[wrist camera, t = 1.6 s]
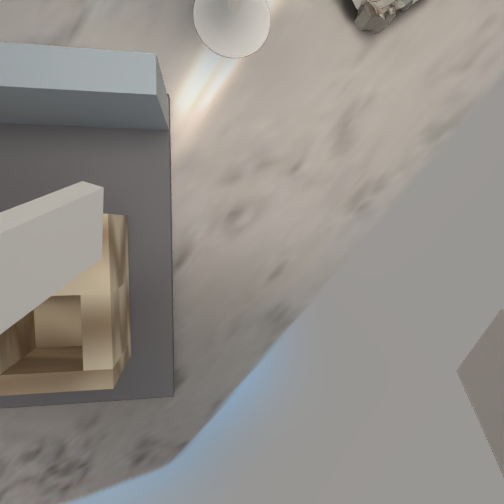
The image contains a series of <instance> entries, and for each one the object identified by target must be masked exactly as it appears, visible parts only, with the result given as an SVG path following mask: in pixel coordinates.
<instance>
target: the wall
mask: <svg viewBox="0 0 504 504" xmlns="http://www.w3.org/2000/svg"><path fill="white" fill-rule="evenodd" d="M0 123H10V124H34V125H58V126H82V127H106V128H130V129H154V130H169V100H168V96H167V93H166V89H165V85H164V82H163V78H162V74H161V71H160V67H159V63H158V59H157V56H156V53H147V52H134V51H120V50H106V49H93V48H79V47H65V46H51V45H38V44H24V43H10V42H0Z"/></svg>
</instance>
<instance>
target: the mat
mask: <svg viewBox="0 0 504 504" xmlns="http://www.w3.org/2000/svg"><path fill="white" fill-rule="evenodd" d="M167 96H168V100H169V130H154V129H130V128H106V127H82V126H58V125H34V124H10V123H0V212H3V211H6V210H8V209H11V208H13V207H16V206H19V205H21V204H24V203H26V202H29V201H32V200H34V199H37V198H40V197H42V196H45V195H47V194H50V193H53V192H55V191H58V190H60V189H63V188H66V187H68V186H71V185H73V184H76V183H79V182H81V181H84V182H88V183H91V184H94V185H98V186H101V187H104V197H103V214H116V215H127V223H128V260H129V297H130V335H131V357H130V358H129V360H128V362H127V364H126V366H125V368H124V370H123V372H122V373H121V375H120V377H119V379H118V381H117V383H116V385H115V387H114V388H113V389H101V390H85V391H69V392H53V393H38V394H22V395H6V396H0V408H14V407H29V406H43V405H58V404H73V403H88V402H102V401H117V400H132V399H147V398H161V397H173V396H174V342H173V279H172V217H171V154H170V98H169V94H167Z"/></svg>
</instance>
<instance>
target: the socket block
mask: <svg viewBox="0 0 504 504" xmlns="http://www.w3.org/2000/svg"><path fill="white" fill-rule="evenodd" d="M130 357H131V335H130V297H129V260H128V223H127V215H116V214H103V234H102V258H101V259H100V260H98V261H97V262H96V263H94V264H93V265H92V266H90V267H89V268H88V269H86V270H85V271H84V272H82V273H81V274H80V275H78V276H77V277H76V278H74V279H73V280H72V281H70V282H69V283H68V284H66V285H65V286H64V287H62V288H61V289H60V290H58V291H57V292H56V293H55V294H53V295H52V296H51V297H49V298H48V299H47V300H45V301H44V302H43V303H41V304H40V305H39V306H37V307H36V308H35V309H33V310H32V311H31V312H29V313H28V314H27V315H25V316H24V317H23V318H21V319H20V320H19V321H17V322H16V323H15V324H13V325H12V326H11V327H9V328H8V329H7V330H5V331H4V332H3V333H1V334H0V396H6V395H22V394H38V393H53V392H69V391H85V390H101V389H113V388H114V387H115V385H116V383H117V381H118V379H119V377H120V375H121V373H122V372H123V370H124V368H125V366H126V364H127V362H128V360H129V358H130Z"/></svg>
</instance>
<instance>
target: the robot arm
mask: <svg viewBox="0 0 504 504" xmlns="http://www.w3.org/2000/svg"><path fill="white" fill-rule="evenodd" d="M103 197H104V187H101V186H98V185H94V184H91V183H88V182H84V181H81V182H79V183H76V184H73V185H71V186H68V187H66V188H63V189H60V190H58V191H55V192H53V193H50V194H47V195H45V196H42V197H40V198H37V199H34V200H32V201H29V202H26V203H24V204H21V205H19V206H16V207H13V208H11V209H8V210H6V211H3V212H0V334H1V333H3V332H4V331H5V330H7V329H8V328H9V327H11V326H12V325H13V324H15V323H16V322H17V321H19V320H20V319H21V318H23V317H24V316H25V315H27V314H28V313H29V312H31V311H32V310H33V309H35V308H36V307H37V306H39V305H40V304H41V303H43V302H44V301H45V300H47V299H48V298H49V297H51V296H52V295H53V294H55V293H56V292H57V291H58V290H60V289H61V288H62V287H64V286H65V285H66V284H68V283H69V282H70V281H72V280H73V279H74V278H76V277H77V276H78V275H80V274H81V273H82V272H84V271H85V270H86V269H88V268H89V267H90V266H92V265H93V264H94V263H96V262H97V261H98V260H100V259H101V258H102V234H103ZM457 373H458V375H459V378H460V379H461V382H462V384H463V387H464V389H465V391H466V393H467V396H468V398H469V400H470V402H471V404H472V407H473V409H474V411H475V414H476V416H477V418H478V420H479V422H480V425H481V427H482V429H483V431H484V434H485V436H486V438H487V440H488V443H489V445H490V447H491V449H492V452H493V454H494V456H495V458H496V461H497V463H498V465H499V467H500V469H501V472H502V474H503V476H504V308H502V309H501V310H500V311H499V313H498V314H497V316H496V317H495V318H494V320H493V321H492V323H491V324H490V325H489V327H488V328H487V329H486V331H485V332H484V334H483V335H482V336H481V338H480V339H479V340H478V342H477V343H476V345H475V346H474V347H473V349H472V350H471V351H470V353H469V354H468V356H467V357H466V358H465V360H464V361H463V362H462V364H461V365H460V367H459V368H458V370H457Z"/></svg>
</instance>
